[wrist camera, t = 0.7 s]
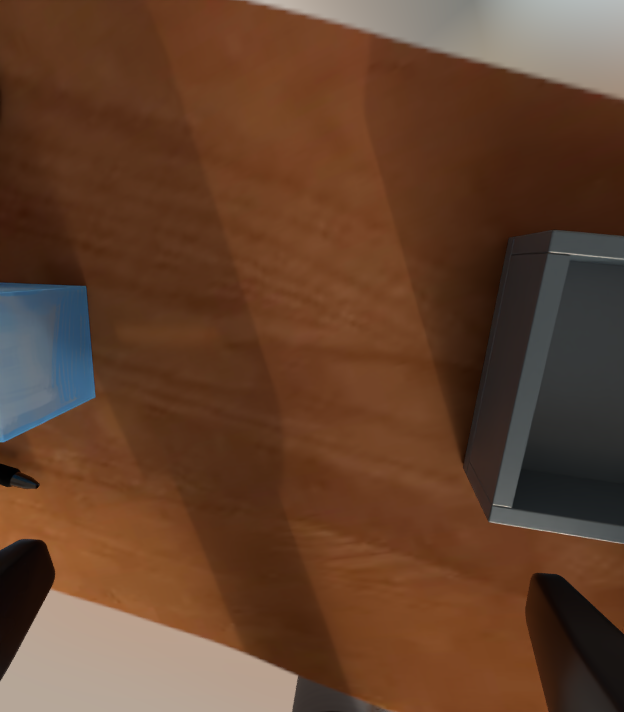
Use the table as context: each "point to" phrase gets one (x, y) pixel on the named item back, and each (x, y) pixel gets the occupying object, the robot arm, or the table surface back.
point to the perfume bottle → (42, 354)
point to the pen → (16, 478)
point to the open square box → (554, 389)
